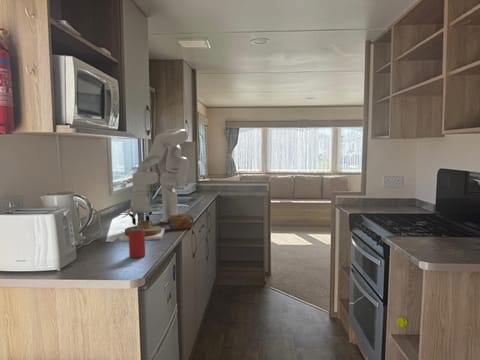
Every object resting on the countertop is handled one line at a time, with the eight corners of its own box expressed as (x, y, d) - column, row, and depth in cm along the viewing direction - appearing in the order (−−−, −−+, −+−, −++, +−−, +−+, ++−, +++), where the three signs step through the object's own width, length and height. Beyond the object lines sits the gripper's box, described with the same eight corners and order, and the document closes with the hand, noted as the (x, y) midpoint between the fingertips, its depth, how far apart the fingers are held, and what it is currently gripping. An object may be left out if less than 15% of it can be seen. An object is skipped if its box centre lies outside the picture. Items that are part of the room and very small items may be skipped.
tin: (167, 230, 206) (167, 215, 205) (167, 228, 209) (166, 214, 208) (193, 228, 210) (193, 214, 209) (193, 227, 213) (192, 213, 212)
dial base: (127, 232, 202) (127, 229, 201) (165, 230, 204) (165, 227, 204) (118, 241, 181) (118, 237, 181) (160, 239, 183) (160, 236, 183)
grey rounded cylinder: (138, 228, 210) (137, 211, 210) (144, 228, 211) (144, 211, 210) (137, 229, 207) (136, 212, 206) (143, 229, 207) (143, 212, 206)
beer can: (146, 254, 156) (145, 227, 155) (143, 258, 150) (142, 230, 149) (131, 254, 156) (130, 227, 155) (127, 258, 150) (126, 230, 149)
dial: (128, 229, 201) (128, 221, 200) (163, 227, 203) (162, 220, 202) (121, 237, 182) (120, 228, 181) (159, 235, 184) (158, 226, 183)
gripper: (152, 192, 215) (153, 221, 216) (123, 194, 206) (124, 224, 207) (156, 193, 208) (157, 223, 210) (126, 195, 199) (127, 226, 201)
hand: (140, 223), depth 208 cm, fingers open, 6 cm apart
